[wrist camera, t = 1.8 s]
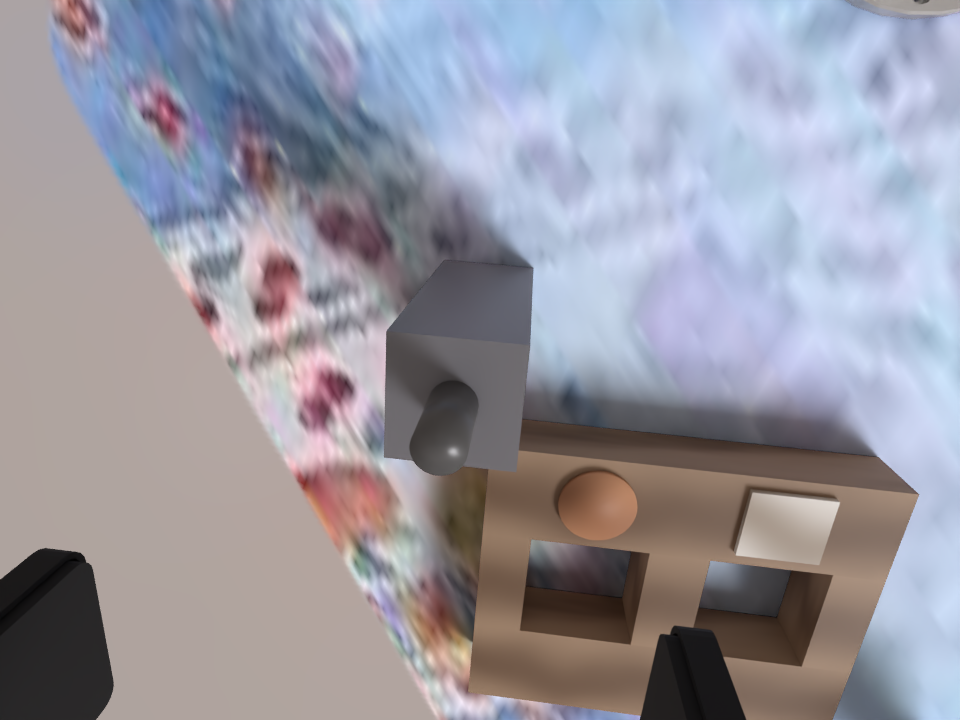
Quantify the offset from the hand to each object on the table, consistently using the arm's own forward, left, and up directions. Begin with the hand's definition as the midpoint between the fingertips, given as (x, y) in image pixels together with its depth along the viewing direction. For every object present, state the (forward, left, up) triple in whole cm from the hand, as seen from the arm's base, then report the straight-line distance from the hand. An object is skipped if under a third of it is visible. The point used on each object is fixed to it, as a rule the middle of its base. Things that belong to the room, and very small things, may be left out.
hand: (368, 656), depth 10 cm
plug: (0, 0, -22) cm, 22 cm away
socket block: (+14, +11, -22) cm, 28 cm away
